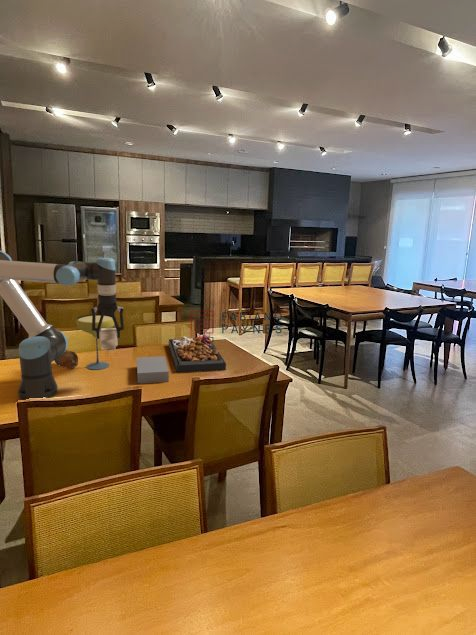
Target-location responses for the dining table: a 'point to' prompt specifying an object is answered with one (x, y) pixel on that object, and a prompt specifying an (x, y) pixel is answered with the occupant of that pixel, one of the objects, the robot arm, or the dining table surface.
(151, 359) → the slate block
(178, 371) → the food platter
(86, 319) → the cocktail glass
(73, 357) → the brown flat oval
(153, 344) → the dining table surface
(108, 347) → the cream block
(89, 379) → the dining table surface
